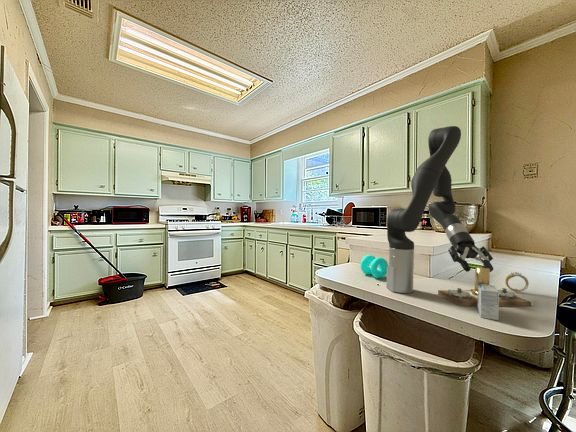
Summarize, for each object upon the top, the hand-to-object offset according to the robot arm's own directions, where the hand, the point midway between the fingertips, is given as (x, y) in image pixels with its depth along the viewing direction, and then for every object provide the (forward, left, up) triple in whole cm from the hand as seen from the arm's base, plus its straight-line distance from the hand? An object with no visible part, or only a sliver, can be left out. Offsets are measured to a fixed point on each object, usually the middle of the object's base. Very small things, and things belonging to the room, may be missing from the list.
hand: (479, 270), depth 92 cm
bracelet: (+22, +8, -11) cm, 26 cm away
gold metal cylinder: (0, -1, -9) cm, 9 cm away
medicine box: (-9, -14, -11) cm, 20 cm away
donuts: (-28, +31, -11) cm, 43 cm away
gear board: (0, -1, -10) cm, 11 cm away
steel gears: (0, -1, -9) cm, 9 cm away
